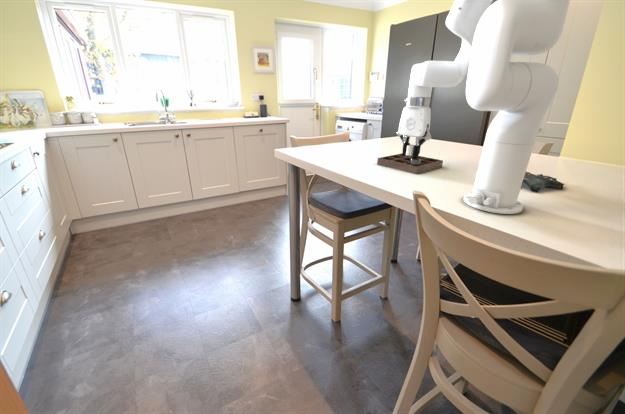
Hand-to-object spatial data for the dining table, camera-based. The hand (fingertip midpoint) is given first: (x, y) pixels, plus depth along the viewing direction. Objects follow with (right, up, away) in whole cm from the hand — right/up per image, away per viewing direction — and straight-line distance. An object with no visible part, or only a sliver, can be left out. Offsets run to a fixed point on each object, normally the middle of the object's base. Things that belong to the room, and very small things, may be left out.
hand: (410, 154), depth 106 cm
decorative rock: (+31, -13, -18) cm, 38 cm away
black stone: (-1, -6, -6) cm, 9 cm away
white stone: (0, 0, 0) cm, 0 cm away
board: (0, -4, +1) cm, 4 cm away
